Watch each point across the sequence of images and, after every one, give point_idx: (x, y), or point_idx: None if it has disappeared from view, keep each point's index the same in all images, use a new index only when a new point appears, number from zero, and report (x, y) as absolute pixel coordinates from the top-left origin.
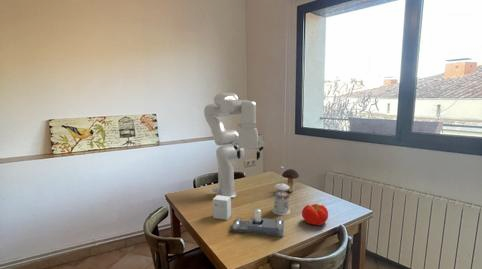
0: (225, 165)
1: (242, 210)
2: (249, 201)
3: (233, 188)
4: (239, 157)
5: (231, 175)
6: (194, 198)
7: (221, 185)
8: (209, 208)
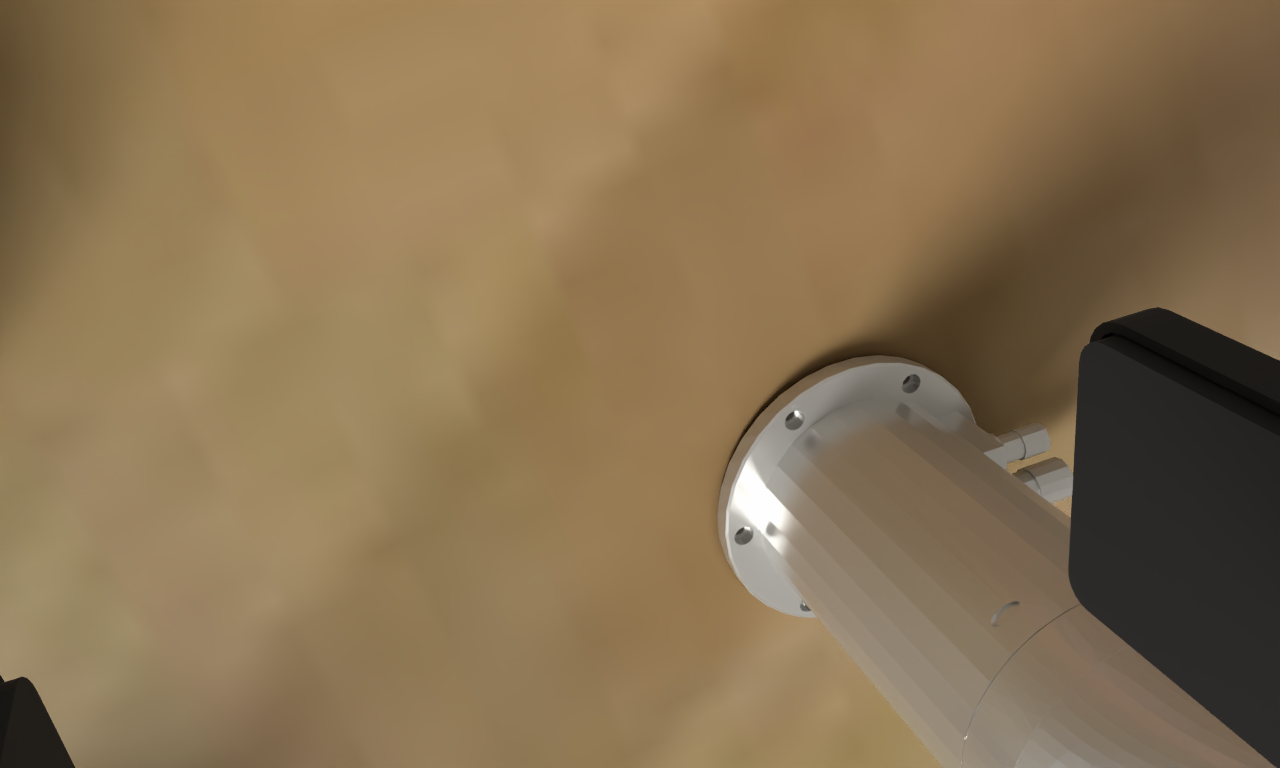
0: (1193, 716)
1: (451, 133)
2: (473, 462)
3: (802, 568)
4: (1136, 377)
5: (948, 665)
6: (1189, 220)
7: (991, 473)
8: (931, 6)
